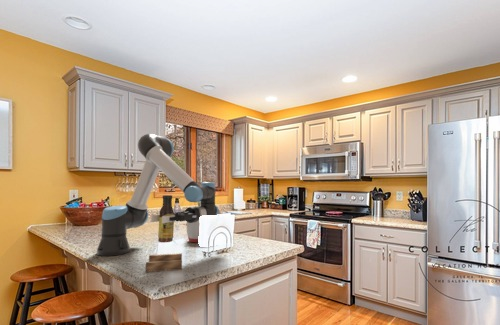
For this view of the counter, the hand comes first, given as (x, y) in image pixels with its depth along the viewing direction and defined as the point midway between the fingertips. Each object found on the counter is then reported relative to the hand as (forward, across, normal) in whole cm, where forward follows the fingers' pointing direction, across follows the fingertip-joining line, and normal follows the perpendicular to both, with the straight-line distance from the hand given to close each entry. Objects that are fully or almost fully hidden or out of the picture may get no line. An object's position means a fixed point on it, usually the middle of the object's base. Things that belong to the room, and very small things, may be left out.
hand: (156, 219), depth 119 cm
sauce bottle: (-5, 0, -10) cm, 11 cm away
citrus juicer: (-54, +24, -20) cm, 62 cm away
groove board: (-5, 0, -20) cm, 21 cm away
